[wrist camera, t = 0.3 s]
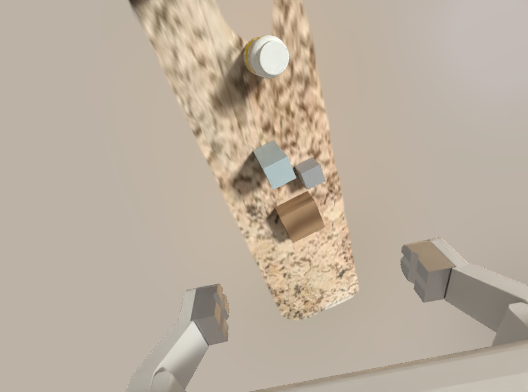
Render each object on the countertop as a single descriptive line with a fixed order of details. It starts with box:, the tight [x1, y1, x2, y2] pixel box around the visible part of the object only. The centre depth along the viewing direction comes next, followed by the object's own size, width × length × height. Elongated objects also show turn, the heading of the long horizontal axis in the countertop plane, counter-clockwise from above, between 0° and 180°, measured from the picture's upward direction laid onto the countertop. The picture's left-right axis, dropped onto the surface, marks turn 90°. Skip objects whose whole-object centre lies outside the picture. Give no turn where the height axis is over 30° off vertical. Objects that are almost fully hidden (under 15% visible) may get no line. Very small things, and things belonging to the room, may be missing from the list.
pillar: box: [253, 140, 296, 190], centre depth 46 cm, size 4×4×9 cm
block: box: [295, 158, 325, 190], centre depth 52 cm, size 4×4×4 cm
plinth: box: [275, 191, 325, 243], centre depth 57 cm, size 8×8×4 cm
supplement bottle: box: [243, 35, 289, 79], centre depth 37 cm, size 5×5×10 cm
